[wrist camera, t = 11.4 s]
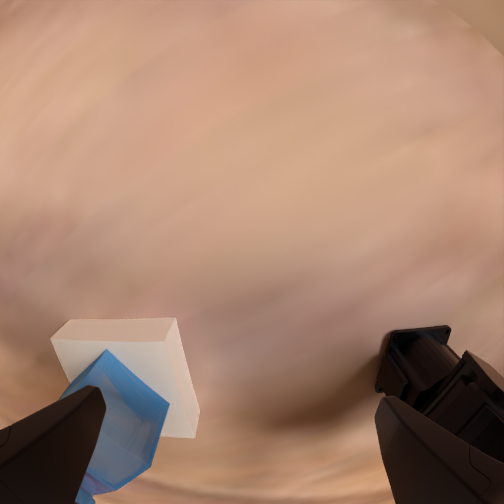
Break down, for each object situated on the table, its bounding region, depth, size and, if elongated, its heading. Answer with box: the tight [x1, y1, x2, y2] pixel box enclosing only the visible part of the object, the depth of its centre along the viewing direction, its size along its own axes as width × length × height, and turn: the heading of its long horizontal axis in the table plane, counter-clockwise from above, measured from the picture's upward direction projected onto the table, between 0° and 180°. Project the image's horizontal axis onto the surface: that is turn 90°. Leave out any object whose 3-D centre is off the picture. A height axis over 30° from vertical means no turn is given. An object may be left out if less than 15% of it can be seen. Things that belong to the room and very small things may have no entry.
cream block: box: [50, 317, 200, 438], centre depth 21 cm, size 10×10×4 cm
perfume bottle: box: [58, 349, 170, 504], centre depth 13 cm, size 6×6×12 cm
